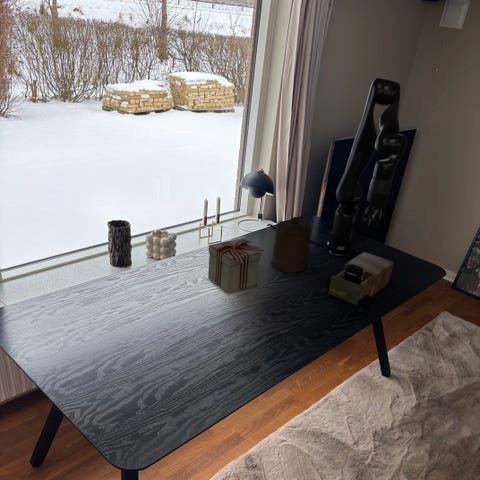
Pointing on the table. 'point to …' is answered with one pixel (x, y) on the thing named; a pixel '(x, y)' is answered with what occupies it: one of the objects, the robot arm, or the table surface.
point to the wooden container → (291, 245)
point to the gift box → (233, 264)
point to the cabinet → (374, 270)
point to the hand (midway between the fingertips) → (369, 230)
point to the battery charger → (354, 273)
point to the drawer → (350, 288)
